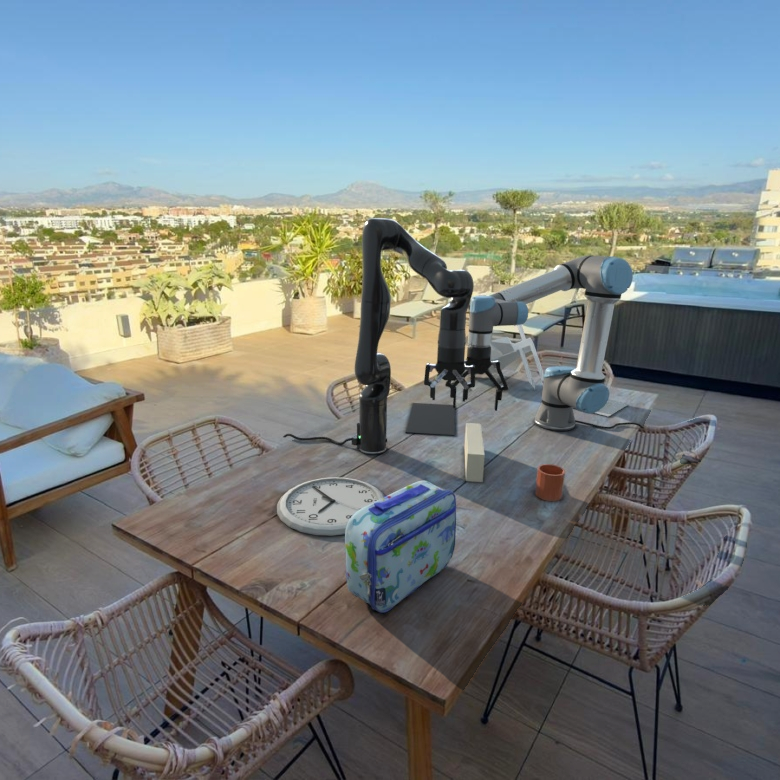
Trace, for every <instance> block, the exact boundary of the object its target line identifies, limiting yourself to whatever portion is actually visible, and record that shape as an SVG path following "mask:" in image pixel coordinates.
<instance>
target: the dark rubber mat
mask: <svg viewBox="0 0 780 780" xmlns="http://www.w3.org/2000/svg"><path fill="white" fill-rule="evenodd" d="M455 409H456V407H455V408H453V404H438V403H424V402H423V403H421V402H412V404H411V409H410V413H409V416H408V421H407V426H406V430H405V434H414V435H415V434H417V435H430V436H446V437H447V436H449V437H455V429H456V428H455V424H456V423H455V420H456V419H455V418H456V415H455V413H456V411H455Z"/></svg>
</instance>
